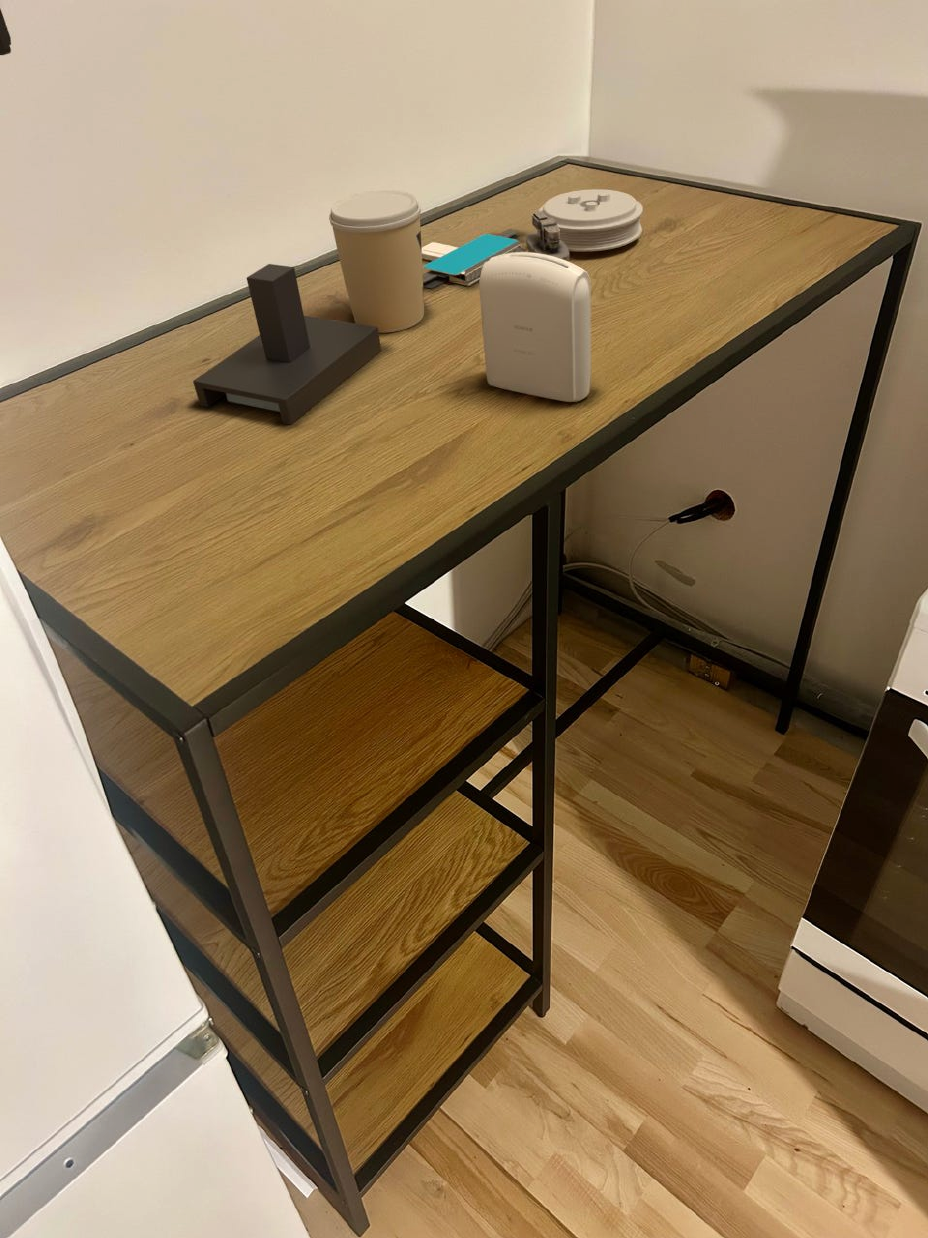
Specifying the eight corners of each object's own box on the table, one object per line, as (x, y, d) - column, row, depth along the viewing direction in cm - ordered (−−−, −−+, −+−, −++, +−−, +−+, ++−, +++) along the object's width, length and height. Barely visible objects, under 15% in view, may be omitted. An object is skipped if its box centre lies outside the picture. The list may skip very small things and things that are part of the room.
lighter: (576, 327, 96) (576, 228, 89) (545, 333, 95) (542, 234, 89) (551, 298, 102) (550, 203, 95) (522, 303, 101) (518, 209, 95)
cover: (291, 424, 85) (265, 314, 78) (199, 405, 89) (167, 298, 82) (381, 350, 95) (365, 246, 88) (295, 336, 100) (274, 236, 93)
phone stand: (473, 226, 121) (473, 213, 120) (548, 241, 115) (548, 227, 113) (369, 280, 110) (367, 266, 109) (445, 299, 104) (444, 285, 103)
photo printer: (479, 387, 88) (469, 256, 79) (502, 368, 90) (495, 239, 82) (576, 409, 83) (576, 273, 75) (597, 388, 85) (599, 254, 77)
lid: (657, 228, 115) (659, 185, 112) (615, 264, 107) (617, 220, 104) (565, 218, 120) (565, 177, 117) (520, 252, 113) (518, 209, 109)
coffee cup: (448, 315, 100) (438, 200, 92) (379, 344, 96) (361, 226, 88) (398, 293, 106) (384, 182, 98) (331, 319, 102) (310, 206, 94)
